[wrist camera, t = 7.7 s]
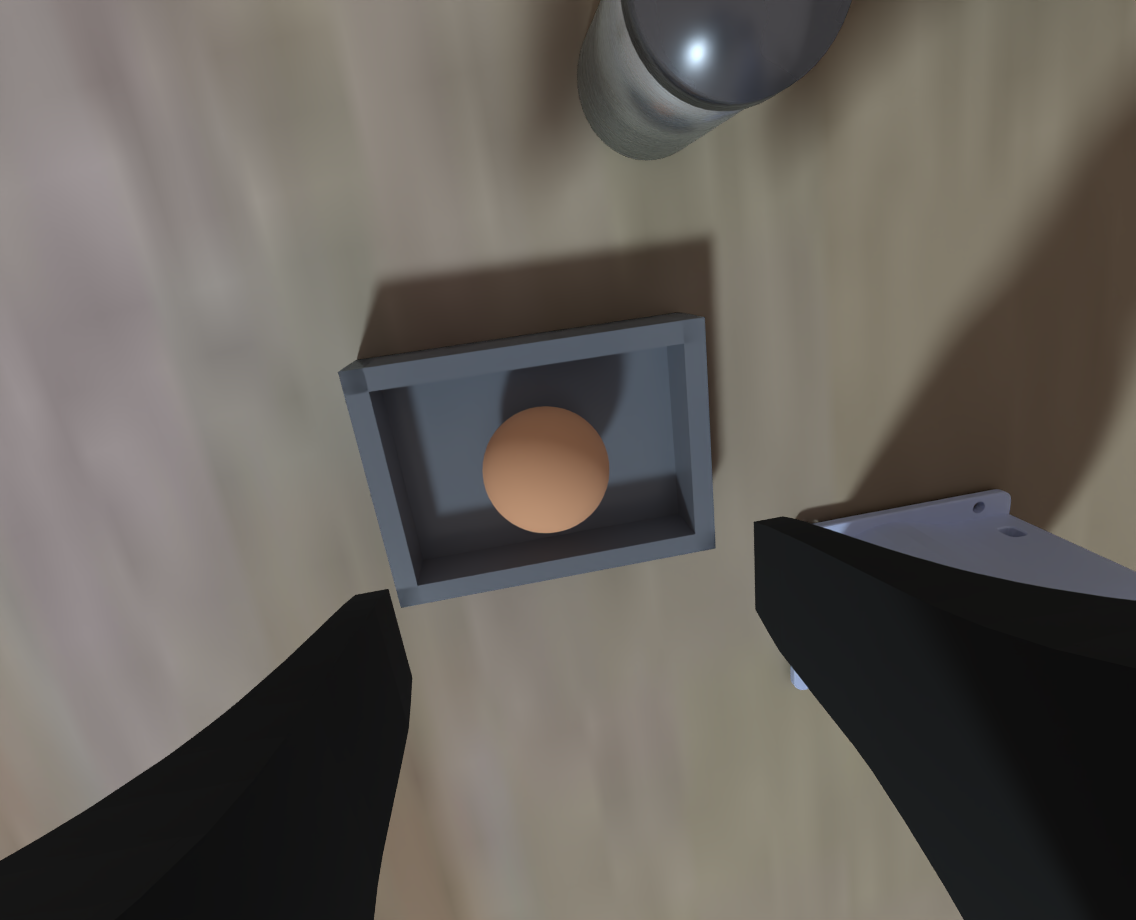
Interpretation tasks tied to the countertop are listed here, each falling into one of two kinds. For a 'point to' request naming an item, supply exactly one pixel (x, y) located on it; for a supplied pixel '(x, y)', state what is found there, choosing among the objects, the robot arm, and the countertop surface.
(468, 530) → the dish
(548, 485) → the ball
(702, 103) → the shaker
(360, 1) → the countertop surface
